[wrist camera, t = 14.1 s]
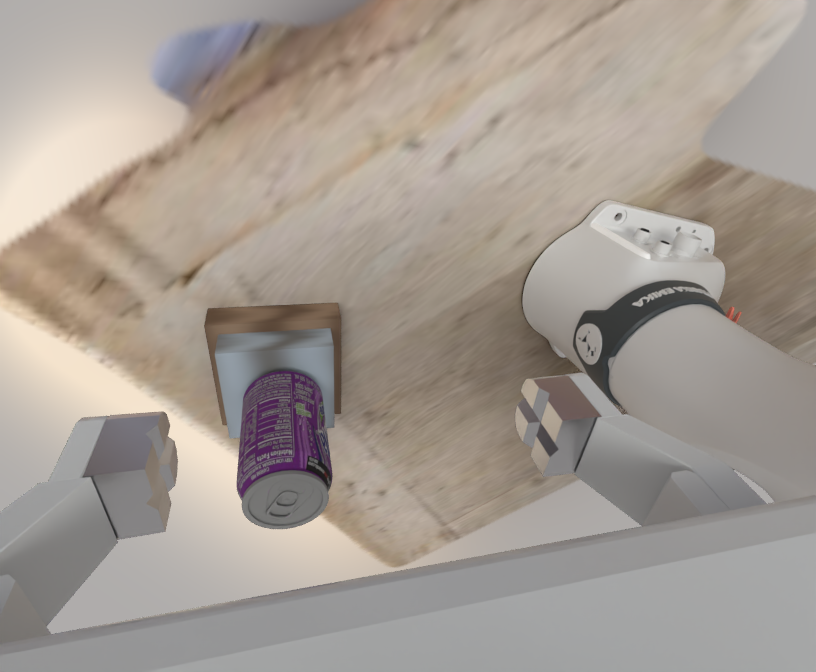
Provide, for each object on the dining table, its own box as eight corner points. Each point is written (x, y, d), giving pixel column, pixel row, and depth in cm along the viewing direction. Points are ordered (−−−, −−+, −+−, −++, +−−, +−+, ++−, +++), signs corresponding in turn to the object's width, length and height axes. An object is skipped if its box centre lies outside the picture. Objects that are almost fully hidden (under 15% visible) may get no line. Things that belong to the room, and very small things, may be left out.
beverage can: (303, 430, 47) (311, 538, 38) (232, 414, 44) (220, 527, 34) (334, 377, 45) (351, 479, 35) (260, 356, 41) (256, 461, 32)
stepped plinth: (337, 302, 47) (344, 336, 42) (337, 395, 54) (344, 433, 49) (208, 308, 44) (200, 345, 39) (225, 405, 51) (220, 447, 46)
